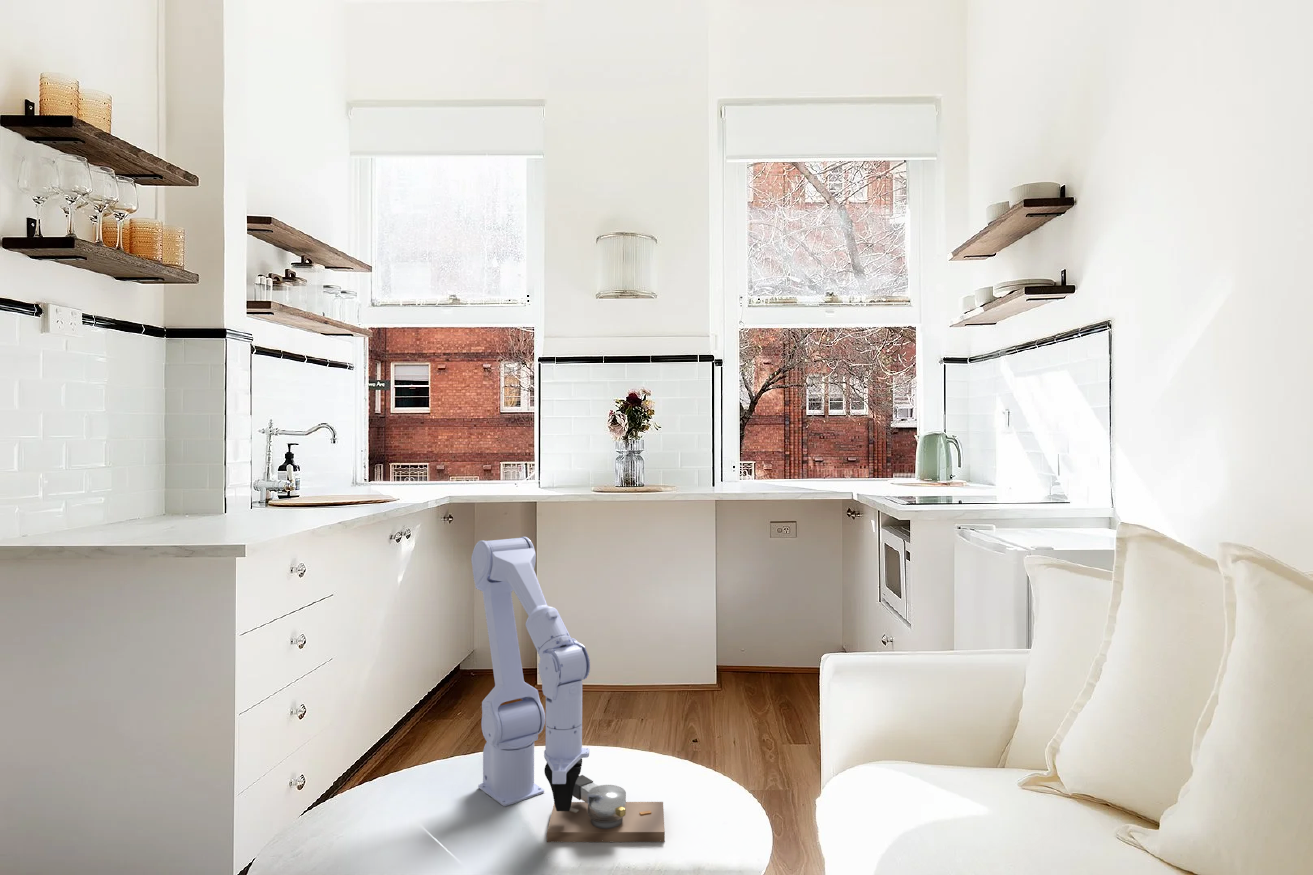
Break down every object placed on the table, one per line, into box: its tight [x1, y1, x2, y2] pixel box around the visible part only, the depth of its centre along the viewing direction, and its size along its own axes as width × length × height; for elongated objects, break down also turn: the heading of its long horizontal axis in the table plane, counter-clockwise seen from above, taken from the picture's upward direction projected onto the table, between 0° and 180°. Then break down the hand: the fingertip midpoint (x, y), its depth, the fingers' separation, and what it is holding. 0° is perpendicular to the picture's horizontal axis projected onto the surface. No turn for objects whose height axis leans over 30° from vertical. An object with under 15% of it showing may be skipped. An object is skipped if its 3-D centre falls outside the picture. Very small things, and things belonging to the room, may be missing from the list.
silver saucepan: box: [573, 774, 627, 822], centre depth 122 cm, size 13×6×3 cm, turn 41°
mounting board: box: [546, 801, 666, 843], centre depth 122 cm, size 10×18×2 cm, turn 91°
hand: (563, 809), depth 120 cm, fingers closed
